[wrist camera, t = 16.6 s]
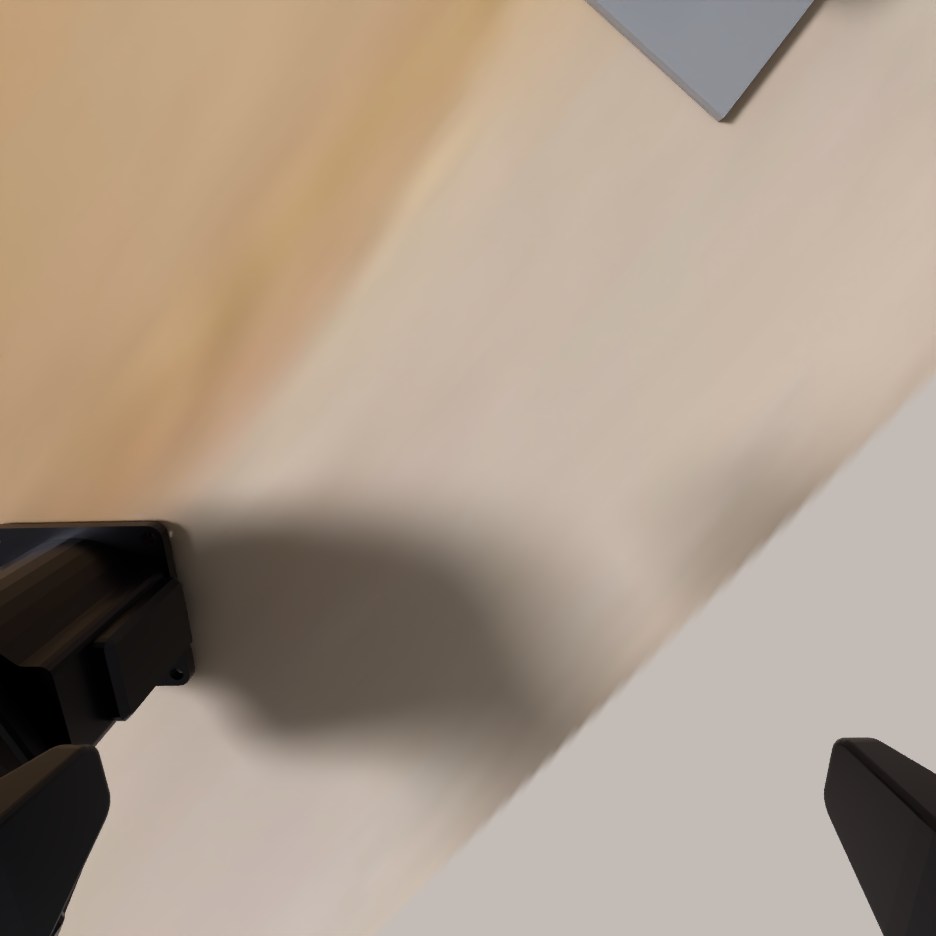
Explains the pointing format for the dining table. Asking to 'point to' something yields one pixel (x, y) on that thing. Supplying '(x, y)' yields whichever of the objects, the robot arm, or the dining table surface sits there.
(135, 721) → the dining table surface
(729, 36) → the well
